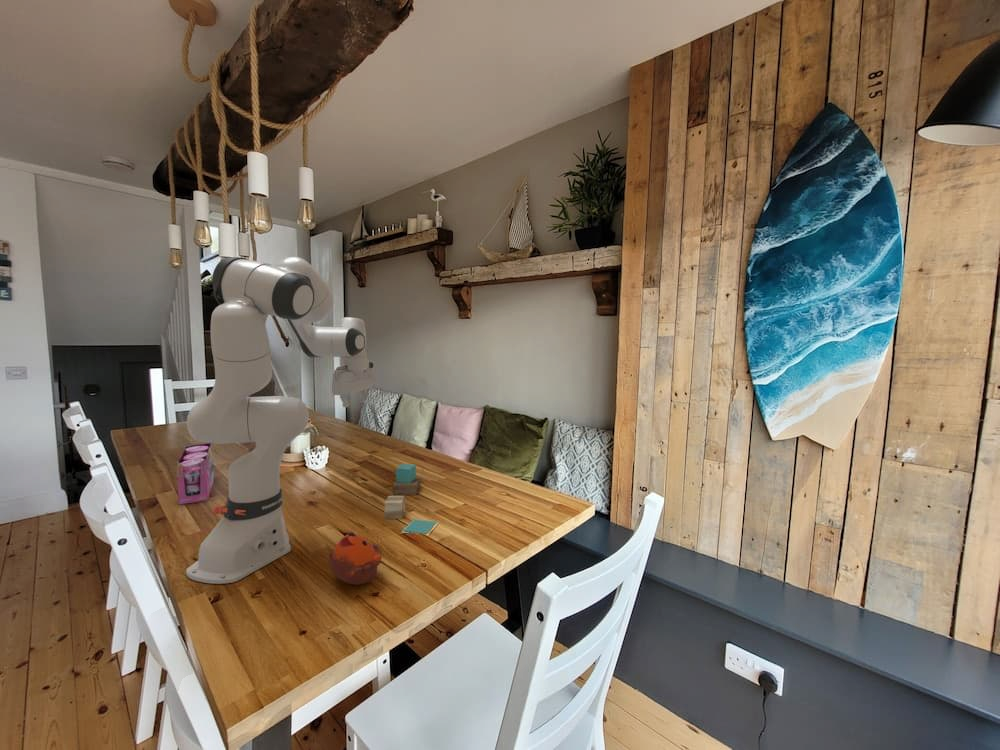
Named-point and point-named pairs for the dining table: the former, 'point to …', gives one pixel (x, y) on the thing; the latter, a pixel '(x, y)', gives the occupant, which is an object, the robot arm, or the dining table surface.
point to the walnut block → (407, 487)
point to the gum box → (195, 473)
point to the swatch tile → (419, 526)
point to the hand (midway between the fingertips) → (354, 404)
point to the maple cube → (394, 506)
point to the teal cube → (405, 473)
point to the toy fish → (355, 559)
